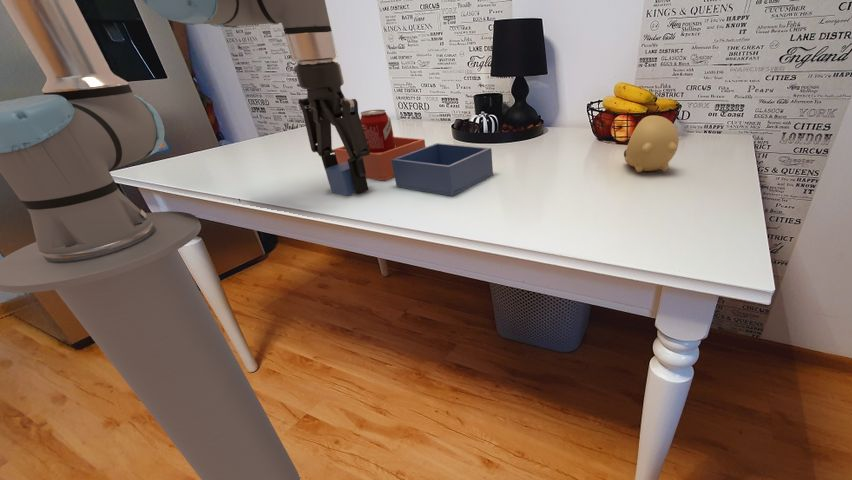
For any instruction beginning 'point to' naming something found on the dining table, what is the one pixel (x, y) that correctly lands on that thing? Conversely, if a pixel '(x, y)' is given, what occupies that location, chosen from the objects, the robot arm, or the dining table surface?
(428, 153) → the blue bin
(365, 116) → the soda can
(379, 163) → the red bin
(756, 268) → the dining table surface
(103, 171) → the robot arm
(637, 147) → the toy pig
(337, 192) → the blue block
